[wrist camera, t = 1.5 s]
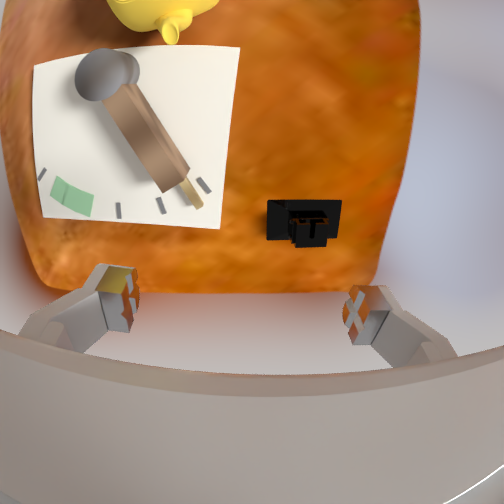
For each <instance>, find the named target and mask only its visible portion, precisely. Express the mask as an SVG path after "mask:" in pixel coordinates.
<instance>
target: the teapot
mask: <svg viewBox="0 0 504 504" xmlns="http://www.w3.org/2000/svg"><path fill="white" fill-rule="evenodd" d="M107 2H108V4H109V6H110V8H111V9H112V11H113V12H114V14H115V15H116V17H117V18H118V19H119V20H120V21H121V22H122V23H123V24H124V25H125V26H126V27H128V28H129V29H131V30H134V31H137V32H146V31H151V30H155V29H158V31H159V32H160V33H161V35H162V38H163V39H164V41H165V42H166V43H167V44H168V45H174V44H176V43H177V41H178V39H179V32H181V31H183V30H184V29H186V28H187V27H188V26H189V25H190V24H191V22H192V17H194V16H197V15H199V14H201V13H204V12H206V11H208V10H210V9H211V8H213V7H214V6H215V5H216V4H217V3H218V2H219V0H107Z"/></svg>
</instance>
